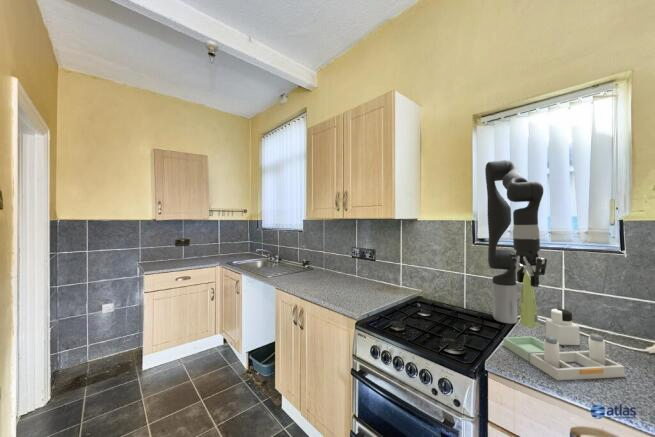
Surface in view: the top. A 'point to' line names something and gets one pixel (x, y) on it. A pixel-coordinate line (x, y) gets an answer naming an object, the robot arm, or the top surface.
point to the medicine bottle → (562, 327)
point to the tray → (524, 346)
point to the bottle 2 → (597, 349)
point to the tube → (528, 303)
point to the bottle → (551, 351)
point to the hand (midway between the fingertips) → (527, 284)
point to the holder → (571, 373)
